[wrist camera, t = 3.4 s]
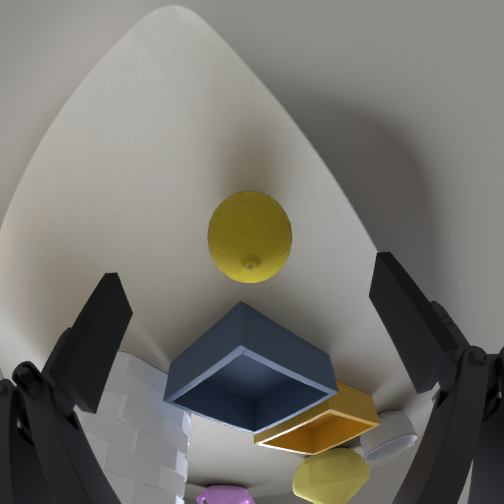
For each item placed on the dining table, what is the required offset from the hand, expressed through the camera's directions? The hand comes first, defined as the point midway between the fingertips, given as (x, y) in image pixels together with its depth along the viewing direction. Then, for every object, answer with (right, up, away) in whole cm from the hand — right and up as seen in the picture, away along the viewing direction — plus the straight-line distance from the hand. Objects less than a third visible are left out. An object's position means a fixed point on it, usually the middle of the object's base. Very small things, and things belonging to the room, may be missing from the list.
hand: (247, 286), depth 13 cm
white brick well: (-20, -19, +22) cm, 36 cm away
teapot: (-9, -82, +58) cm, 101 cm away
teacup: (+27, -31, +30) cm, 51 cm away
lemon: (0, +5, +9) cm, 10 cm away
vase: (+18, -47, +38) cm, 63 cm away
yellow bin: (+10, -22, +24) cm, 34 cm away
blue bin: (0, -11, +18) cm, 21 cm away
